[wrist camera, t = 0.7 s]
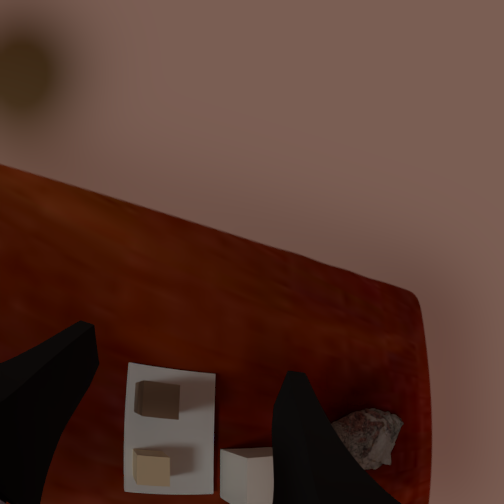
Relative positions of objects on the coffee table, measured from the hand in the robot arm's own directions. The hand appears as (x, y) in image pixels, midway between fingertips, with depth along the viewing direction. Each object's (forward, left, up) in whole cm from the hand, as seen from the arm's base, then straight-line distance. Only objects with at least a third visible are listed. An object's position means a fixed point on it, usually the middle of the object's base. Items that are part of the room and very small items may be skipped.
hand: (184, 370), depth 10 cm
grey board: (-4, -3, -17) cm, 18 cm away
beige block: (-8, -11, -17) cm, 22 cm away
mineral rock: (-6, -25, -18) cm, 32 cm away
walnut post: (-1, -1, -17) cm, 17 cm away
